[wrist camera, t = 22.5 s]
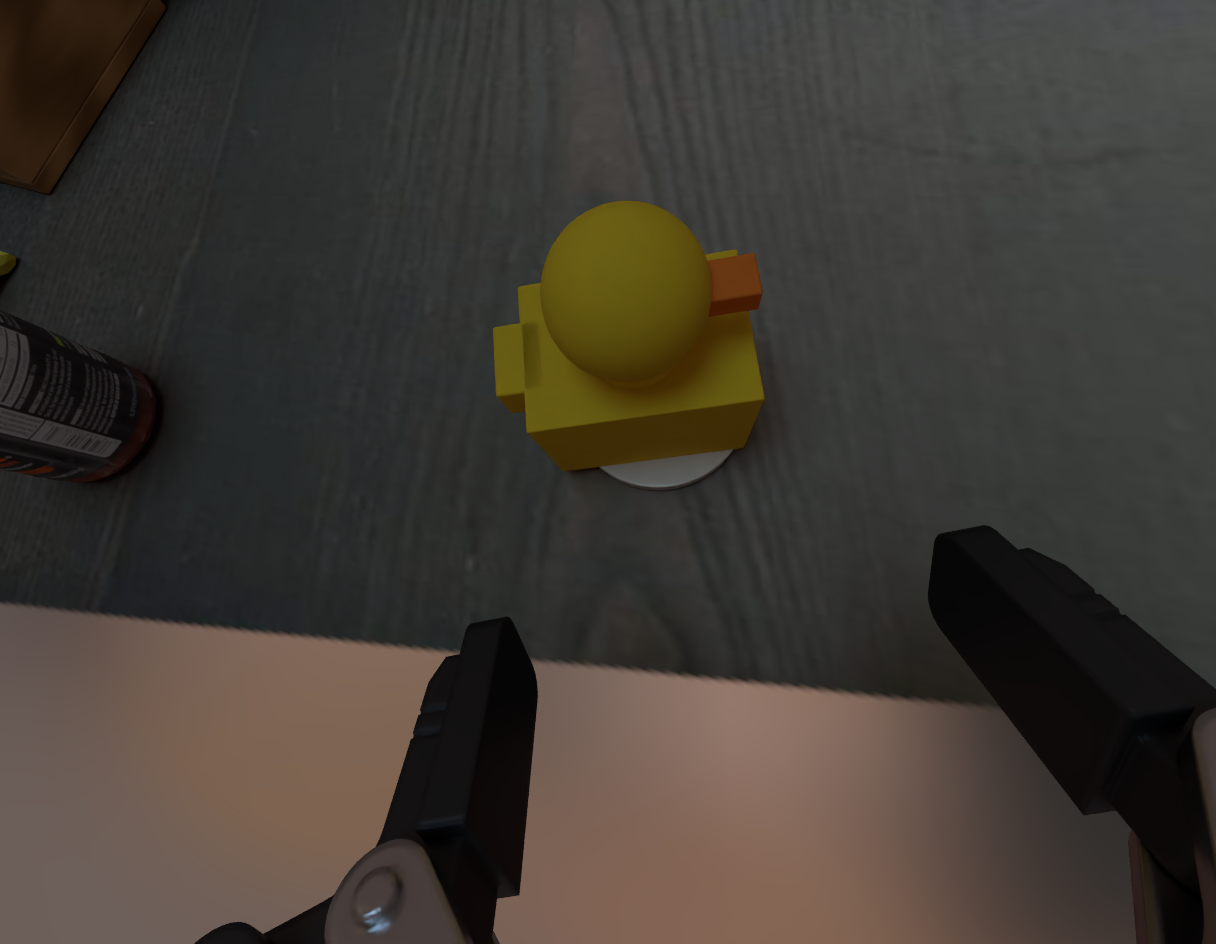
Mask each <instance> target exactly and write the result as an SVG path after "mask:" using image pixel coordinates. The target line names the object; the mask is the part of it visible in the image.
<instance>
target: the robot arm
mask: <svg viewBox="0 0 1216 944" xmlns="http://www.w3.org/2000/svg"><path fill="white" fill-rule="evenodd" d="M928 601H929V606H930V609H931V612H932V615H933V617H934V619H935V621H936V623H937V625H938V627H939V628H940V629H941V631H942V632H943V633H944V635H945V636H946V637H947V639H948V640H949V641H950V642H951V644H952V645H953V646H954V648H955V649H956V650H957V652H958V653H959V654H960V655H961V657H962V658H963V659H964V661H965V662H966V663H967V665H968V666H969V667H970V668H971V670H972V671H973V672H974V674H975V675H976V676H977V678H978V679H979V680H980V681H981V683H982V684H983V685H984V687H985V688H986V689H987V691H988V692H989V693H990V694H991V696H992V697H993V698H994V700H995V701H996V702H997V703H998V705H999V706H1000V707H1001V709H1002V710H1003V711H1004V713H1005V714H1006V715H1007V716H1008V717H1009V719H1010V720H1011V722H1012V723H1013V724H1014V726H1015V727H1016V728H1017V729H1018V731H1019V732H1020V733H1021V735H1022V736H1023V737H1024V739H1025V740H1026V741H1027V742H1028V744H1029V745H1030V746H1031V748H1032V749H1033V750H1034V751H1035V753H1036V754H1037V755H1038V757H1039V758H1040V759H1041V761H1042V762H1043V763H1044V764H1045V766H1046V767H1047V768H1048V770H1049V771H1050V772H1051V773H1052V775H1053V776H1054V778H1055V779H1056V780H1057V781H1058V783H1059V784H1060V785H1061V787H1062V788H1063V789H1064V790H1065V792H1066V793H1067V794H1068V796H1069V797H1070V798H1071V800H1072V801H1073V802H1074V804H1075V805H1076V806H1077V807H1078V809H1079V810H1080V811H1081V813H1082V814H1083V815H1089V814H1096V813H1103V812H1109V811H1117V812H1118V813H1119V814H1120V815H1121V817H1122V818H1123V819H1124V820H1125V821H1126V823H1127V824H1128V825H1129V826H1130V828H1131V831H1130V834H1129V841H1128V845H1129V857H1130V869H1131V881H1132V893H1133V905H1134V917H1135V929H1136V941H1137V944H1216V689H1215V688H1213V687H1212V686H1211V685H1210V684H1209V683H1207V682H1206V681H1205V680H1204V679H1203V678H1201V677H1200V676H1199V675H1198V674H1197V673H1195V672H1194V671H1193V670H1192V669H1190V668H1189V667H1188V666H1187V665H1186V664H1184V663H1183V662H1182V661H1181V660H1180V659H1178V658H1177V657H1176V656H1175V655H1174V654H1172V653H1171V652H1170V651H1169V650H1167V649H1166V648H1165V647H1164V646H1163V645H1161V644H1160V643H1159V642H1158V641H1157V640H1155V639H1154V638H1153V637H1152V636H1151V635H1149V634H1148V633H1147V632H1146V631H1144V630H1143V629H1142V628H1141V627H1140V626H1138V625H1137V624H1136V623H1135V622H1134V621H1132V620H1131V619H1130V618H1129V617H1127V616H1126V615H1121V614H1120V613H1119V609H1118V608H1117V607H1115V606H1114V605H1113V604H1112V603H1111V602H1109V601H1108V600H1107V599H1106V598H1104V597H1103V596H1102V595H1101V594H1096V593H1095V591H1094V588H1092V587H1091V586H1090V585H1089V584H1088V583H1086V582H1085V581H1084V580H1083V579H1081V578H1080V577H1079V576H1078V575H1077V574H1075V573H1074V572H1073V571H1072V570H1071V569H1069V568H1068V567H1067V566H1066V565H1064V564H1062V563H1060V562H1057V561H1055V560H1053V559H1051V558H1049V557H1047V556H1045V555H1043V554H1041V553H1039V552H1037V551H1034V550H1032V549H1030V548H1025V549H1020V550H1018V549H1017V548H1015V547H1014V546H1013V545H1012V544H1011V543H1010V542H1009V541H1007V540H1006V539H1005V538H1004V537H1003V536H1002V535H1001V534H1000V533H998V532H997V531H996V530H995V529H993V528H991V527H989V526H986V525H982V526H977V527H972V528H967V529H962V530H957V531H952V532H946V533H941V534H939V535H938V536H937V537H936V539H935V542H934V549H933V557H932V565H931V573H930V581H929V589H928ZM537 699H538V691H537V680H536V675H535V671H534V667H533V665H532V663H531V660H530V658H529V656H528V654H527V652H526V649H525V647H524V645H523V643H522V641H521V639H520V636H519V634H518V632H517V630H516V628H515V625H514V623H513V621H512V620H511V619H510V618H509V617H502V618H497V619H492V620H487V621H482V622H477V623H472V624H470V625H469V626H468V627H467V629H466V632H465V636H464V640H463V644H462V647H461V651H460V654H458V655H453V656H448V657H446V658H445V659H444V661H443V662H442V664H441V665H440V666H439V668H438V669H437V671H436V672H435V674H434V675H433V677H432V678H431V679H430V681H429V683H428V686H427V689H426V692H425V695H424V699H423V702H422V705H421V708H420V711H421V714H420V715H418V718H417V721H416V725H415V728H414V731H413V734H414V737H413V739H411V741H410V744H409V748H408V751H407V754H406V758H405V760H404V763H403V767H402V770H401V773H400V776H399V780H398V783H397V786H396V790H395V793H394V796H393V799H392V802H391V806H390V809H389V812H388V815H387V818H386V822H385V825H384V828H383V831H382V834H381V837H380V839H379V841H378V843H377V845H376V847H375V848H373V849H372V850H371V851H369V852H368V853H367V854H365V855H364V856H363V857H362V858H361V859H360V860H359V861H358V862H357V863H356V864H355V865H354V866H353V867H352V868H351V870H350V871H349V872H348V874H347V875H346V876H345V878H344V879H343V880H342V882H341V884H340V886H339V887H338V889H337V891H336V893H335V894H334V895H333V896H332V897H330V898H328V899H327V900H325V901H324V902H322V903H320V904H318V905H316V906H314V907H313V908H311V909H309V910H307V911H305V912H303V913H302V914H299V915H298V916H296V917H294V918H292V919H290V920H288V921H286V922H285V923H283V924H281V925H279V926H277V927H275V928H273V929H272V930H270V931H268V932H266V933H264V934H262V933H261V932H259V931H258V930H256V929H255V928H254V927H252V926H251V925H249V924H246V923H242V922H234V923H229V924H226V925H223V926H221V927H218V928H216V929H214V930H212V931H211V932H209V933H208V934H206V935H205V936H203V937H202V938H201V939H199V940H198V941H197V942H196V943H195V944H500V943H499V941H498V939H497V937H496V935H495V933H494V932H493V926H494V918H495V910H496V902H497V898H504V897H511V896H517V895H519V893H520V882H521V872H522V861H523V850H524V839H525V829H526V818H527V807H528V796H529V785H530V775H531V763H532V753H533V742H534V731H535V721H536V710H537Z"/></svg>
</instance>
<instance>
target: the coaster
mask: <svg viewBox="0 0 1216 944" xmlns="http://www.w3.org/2000/svg"><path fill="white" fill-rule="evenodd" d="M733 451H734V449H731V450H723V451H715V452H708V453H700V454H693V455H685V456H677V457H670V458H662V459H654V460H647V461H639V462H631V463H624V464H616V465H609V466H601V467H599V468H600V469H601V470H602V471H603V472H605V473H606V474H607V475H609V476H610V477H612V478H614V479H615V480H617V481H619V482H621V483H624V484H626V485H629V486H632V487H636V488H640V489H647V490H669V489H676V488H680V487H684V486H687V485H690V484H693V483H695V482H697V481H700V480H701V479H703V478H705V477H707V476H708V475H710V474H711V473H712V472H714V471H715V470H716V469H718V468H719V467H720V466H721V465H722V464H723V463H724V462H725V461H726V460H727V459H728V458H729V456H730V455H731V454H732V452H733Z"/></svg>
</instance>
